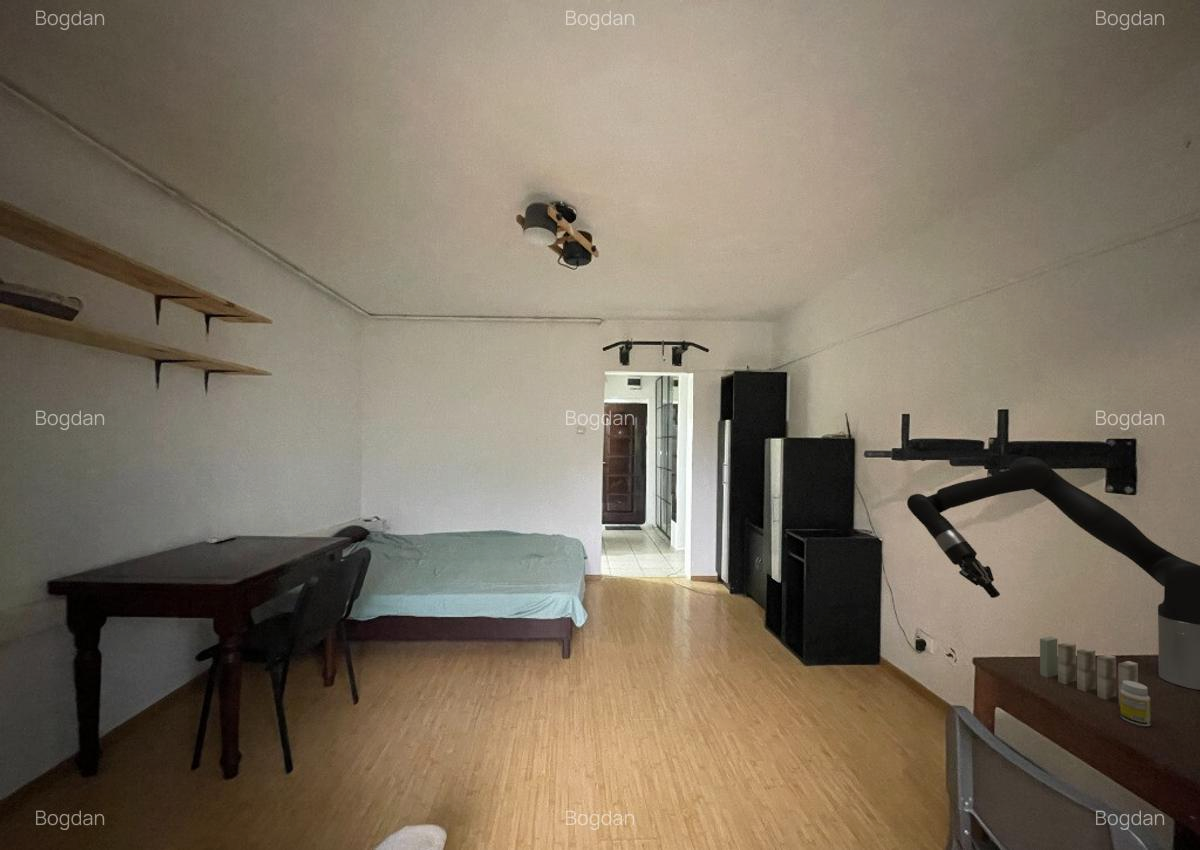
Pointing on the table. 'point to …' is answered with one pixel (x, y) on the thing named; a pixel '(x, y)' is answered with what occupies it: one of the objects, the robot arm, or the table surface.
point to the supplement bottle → (1135, 703)
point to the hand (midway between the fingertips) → (996, 596)
